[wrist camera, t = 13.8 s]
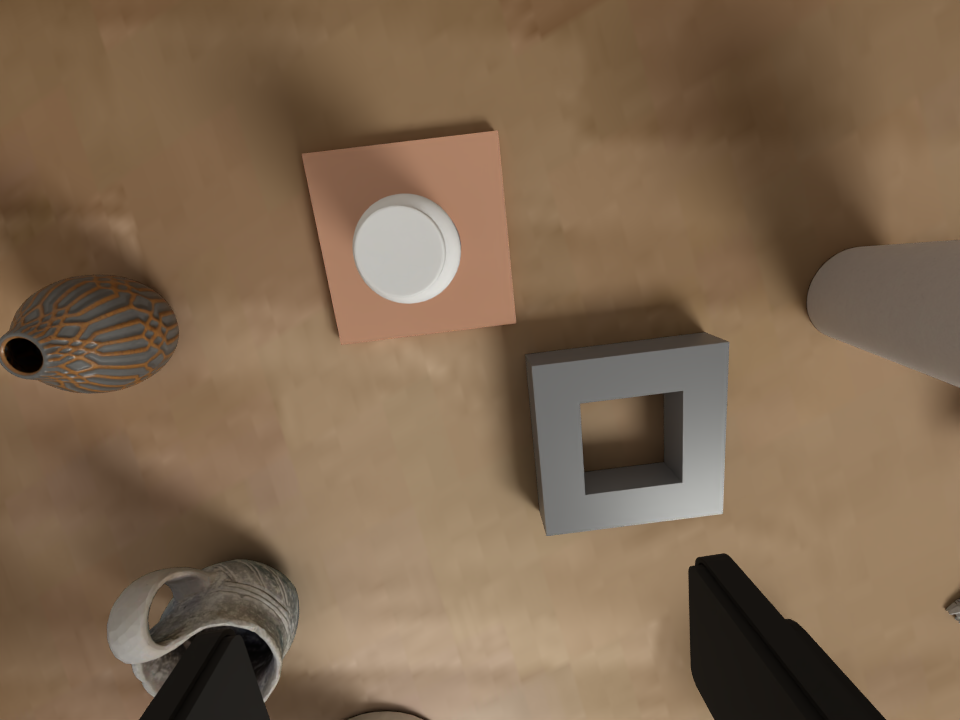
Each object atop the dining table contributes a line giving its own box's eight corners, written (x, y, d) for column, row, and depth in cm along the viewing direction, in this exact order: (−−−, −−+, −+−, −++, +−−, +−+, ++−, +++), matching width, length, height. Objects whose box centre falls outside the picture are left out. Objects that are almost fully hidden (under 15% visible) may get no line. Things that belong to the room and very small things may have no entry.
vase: (218, 334, 31) (126, 372, 22) (144, 389, 31) (28, 446, 23) (143, 249, 29) (12, 255, 20) (67, 309, 30) (-89, 339, 21)
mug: (240, 653, 38) (165, 795, 28) (139, 546, 35) (15, 665, 25) (335, 604, 37) (291, 734, 27) (240, 489, 34) (152, 590, 24)
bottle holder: (539, 511, 35) (546, 536, 33) (525, 354, 32) (531, 366, 29) (701, 491, 36) (722, 513, 33) (704, 332, 32) (729, 342, 29)
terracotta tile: (344, 342, 31) (341, 344, 30) (305, 156, 28) (301, 153, 27) (515, 321, 31) (516, 323, 30) (496, 133, 28) (497, 130, 27)
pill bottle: (461, 203, 28) (462, 188, 19) (460, 288, 30) (461, 314, 20) (374, 201, 28) (332, 185, 19) (378, 287, 29) (341, 313, 20)
